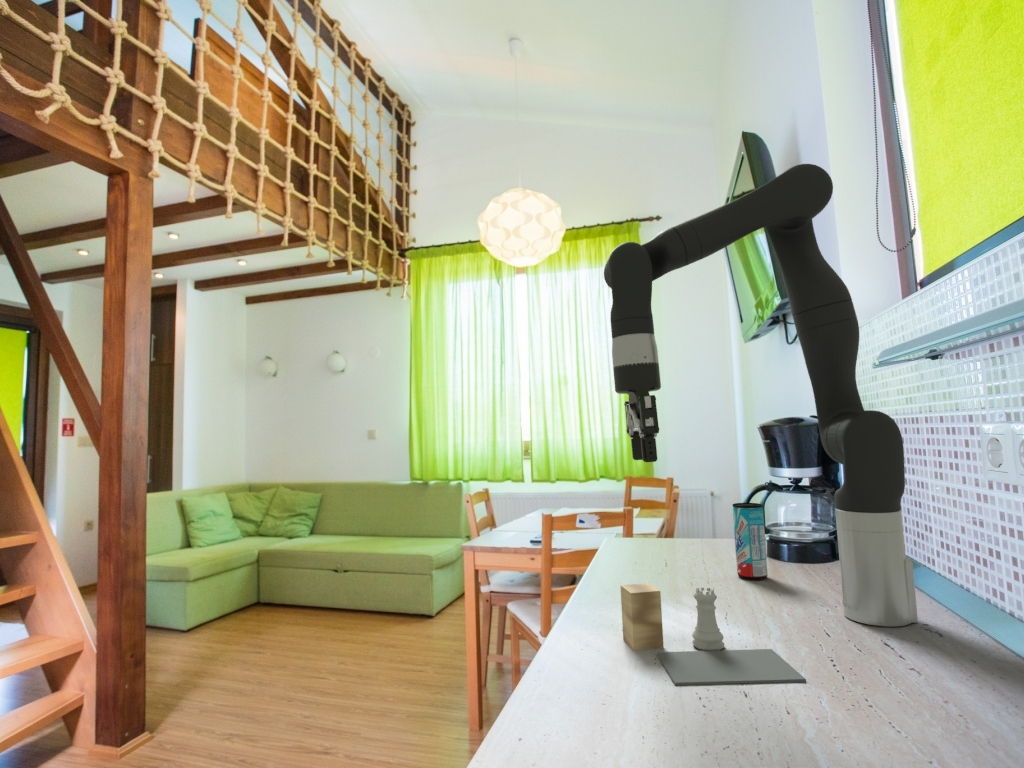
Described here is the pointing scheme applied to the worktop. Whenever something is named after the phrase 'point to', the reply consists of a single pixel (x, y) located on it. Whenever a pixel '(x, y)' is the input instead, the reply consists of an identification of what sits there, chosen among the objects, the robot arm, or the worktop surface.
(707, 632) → the rook chess piece
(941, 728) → the worktop surface
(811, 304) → the robot arm
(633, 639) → the oak block
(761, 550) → the beverage can
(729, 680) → the mat
